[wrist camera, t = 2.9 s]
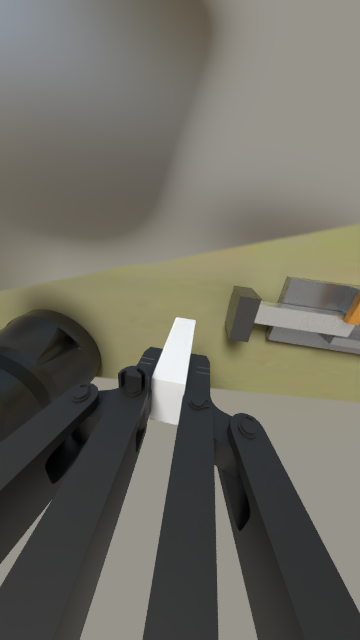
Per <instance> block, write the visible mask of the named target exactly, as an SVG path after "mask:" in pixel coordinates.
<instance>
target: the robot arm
mask: <svg viewBox="0 0 360 640" xmlns="http://www.w3.org/2000/svg"><path fill="white" fill-rule="evenodd" d="M195 321H196V320H190V319H184V318H178V317H176V319H175V322H174V324H173V327H172V329H171V331H170V334H169V336H168V339H167V341H166V344H165V346H164V349H160V348H154V347H150V348H149V349H147V350H146V351H145V352H144V354H143V356H142V358H141V359H140V361H139V363H138V364H137V366H130V367H126V368H124V369H122V370H121V371H120V372H119V373H118V381H119V388H117V389H113V390H104V391H98V388H97V387H96V386H95V385H94V384H91V383H90V382H91V381H92V380H93V379H94V377H95V376H96V375H97V373H98V371H99V369H100V354H99V351H98V348H97V346H96V344H95V342H94V341H93V339H92V338H91V336H90V335H89V334H88V333H87V332H86V331H85V330H84V329H83V328H82V327H81V326H80V325H79V324H78V323H76V322H75V321H73V320H72V319H70V318H68V317H66V316H64V315H62V314H60V313H57V312H53V311H48V310H35V311H31V312H29V313H26V314H24V315H21V316H19V317H17V318H15V319H13V320H12V321H10V322H9V323H8V324H7V326H6V327H5V328H3V329H2V330H1V331H0V564H1V562H2V561H3V560H4V559H5V557H6V556H7V555H8V554H9V552H10V551H11V550H12V548H13V547H14V546H15V545H16V544H17V542H18V541H19V540H20V538H21V537H22V536H23V535H24V534H25V532H26V531H27V530H28V529H29V527H30V526H31V525H32V524H33V522H34V521H35V520H36V519H37V517H38V516H39V515H40V514H41V512H42V511H43V510H44V509H45V507H46V506H47V505H48V504H49V502H50V501H51V500H52V501H51V503H50V504H49V506H48V508H47V509H46V511H45V513H44V515H43V516H42V518H41V520H40V521H39V523H38V524H37V526H36V528H35V530H34V531H33V533H32V535H31V536H30V538H29V540H28V541H27V543H26V545H25V546H24V548H23V550H22V551H21V553H20V555H19V557H18V558H17V560H16V562H15V563H14V565H13V567H12V568H11V570H10V572H9V573H8V575H7V577H6V578H5V580H4V582H3V583H2V585H1V587H0V640H80V636H81V633H82V630H83V627H84V624H85V621H86V618H87V614H88V611H89V608H90V605H91V602H92V599H93V596H94V593H95V590H96V586H97V583H98V580H99V577H100V573H101V571H102V567H103V565H104V561H105V558H106V555H107V552H108V549H109V546H110V542H111V539H112V536H113V533H114V530H115V527H116V524H117V520H118V518H119V514H120V511H121V508H122V505H123V502H124V499H125V496H126V492H127V489H128V486H129V483H130V480H131V477H132V473H133V471H134V467H135V464H136V461H137V458H138V455H139V452H140V449H141V445H142V442H143V439H144V436H145V433H146V428H147V421H148V418H149V415H150V419H152V420H157V421H161V422H166V423H171V424H176V425H178V428H177V434H176V440H175V446H174V452H173V458H172V465H171V471H170V477H169V483H168V489H167V495H166V502H165V507H164V513H163V519H162V526H161V531H160V537H159V544H158V550H157V556H156V562H155V568H154V574H153V580H152V587H151V593H150V598H149V604H148V610H147V616H146V623H145V629H144V635H143V640H218V606H217V564H216V524H215V482H214V465H216V466H217V468H218V472H219V476H220V481H221V485H222V489H223V493H224V498H225V502H226V506H227V510H228V515H229V519H230V523H231V527H232V532H233V536H234V540H235V544H236V549H237V553H238V557H239V561H240V565H241V569H242V574H243V578H244V583H245V587H246V591H247V595H248V599H249V603H250V608H251V612H252V616H253V620H254V625H255V629H256V633H257V638H258V640H360V613H359V611H358V609H357V607H356V605H355V603H354V601H353V599H352V597H351V596H350V594H349V592H348V590H347V588H346V586H345V584H344V582H343V580H342V578H341V576H340V574H339V572H338V571H337V569H336V567H335V565H334V563H333V561H332V559H331V557H330V555H329V553H328V551H327V549H326V547H325V546H324V544H323V542H322V540H321V538H320V536H319V534H318V532H317V530H316V528H315V526H314V525H313V522H312V521H311V519H310V517H309V515H308V513H307V511H306V510H305V507H304V505H303V503H302V502H301V499H300V497H299V496H298V494H297V492H296V490H295V488H294V486H293V484H292V482H291V480H290V478H289V476H288V474H287V472H286V471H285V469H284V467H283V465H282V463H281V461H280V459H279V457H278V455H277V453H276V451H275V449H274V447H273V446H272V444H271V442H270V440H269V438H268V436H267V434H266V432H265V430H264V428H263V427H262V426H261V424H260V423H259V422H258V421H257V420H256V419H255V418H254V417H252V416H250V415H248V414H244V413H239V414H235V415H234V416H233V417H232V416H230V415H228V414H226V413H224V412H222V411H221V410H219V409H218V408H217V407H216V406H215V405H214V404H213V402H212V400H211V397H210V362H209V360H208V358H207V357H206V356H203V355H197V354H191V346H192V340H193V333H194V327H195ZM53 497H54V498H53Z"/></svg>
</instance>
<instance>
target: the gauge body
mask: <svg viewBox="0 0 360 640" xmlns="http://www.w3.org/2000/svg"><path fill="white" fill-rule="evenodd" d="M359 292H360V286H356V285H348V284H341V283H333V282H326V281H318V280H310V279H303V278H295V277H287V279H286V282H285V284H284V287H283V290H282V292H281V295H280V298H279V300H278V303H282V304H289V305H296V306H303V307H310V308H317V309H324V310H331V311H338V312H345V313H348V311H349V309H350V308H351V306H352V304H353V302H354V300H355V299H356V297H357V295H358V293H359ZM266 337H267V338H268V340H273V341H279V342H286V343H292V344H298V345H305V346H311V347H317V348H324V349H330V350H336V351H343V352H349V353H355V354H360V323H359V325H355V326H354V328H353V330H352V331H351V333H350V335H349V336H348V337H343V336H337V335H330V334H323V333H317V332H310V331H304V330H297V329H290V328H284V327H277V326H271V325H269V327H268V330H267V333H266Z"/></svg>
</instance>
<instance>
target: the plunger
mask: <svg viewBox="0 0 360 640" xmlns="http://www.w3.org/2000/svg"><path fill="white" fill-rule="evenodd" d="M261 300H262V299H261V298H260V297H259V296H258V295H257V293H256V292H255V291H254V290H253V289H252V288H246V287H238V286H234V289H233V293H232V297H231V301H230V305H229V309H228V313H227V317H226V321H225V324H226V329H227V333H228V337H229V339H232V340H238V341H245V342H248V340H249V337H250V334H251V331H252V328H253V325H254V323H258V324H264V325H271V326H277V327H284V328H290V329H297V330H304V331H310V332H317V333H323V334H330V335H337V336H343V337H348V336H349V335H350V333H351V331H352V330H353V328H354V326H355V325H359V323H360V292H359V293H358V295H357V297H356V299H355V300H354V302H353V304H352V306H351V308H350V309H349V311H348V313H345V312H338V311H331V310H324V309H317V308H310V307H303V306H296V305H289V304H282V303H274V302H267V301H261Z"/></svg>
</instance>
